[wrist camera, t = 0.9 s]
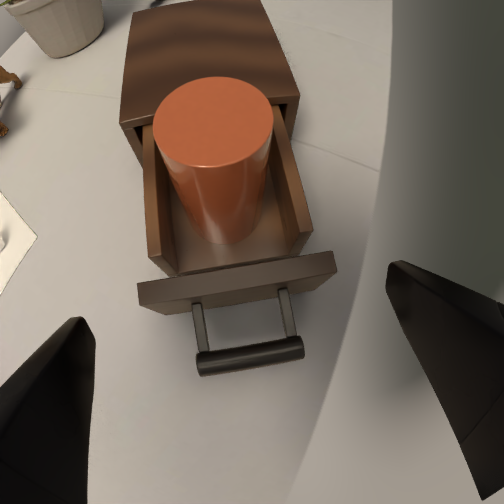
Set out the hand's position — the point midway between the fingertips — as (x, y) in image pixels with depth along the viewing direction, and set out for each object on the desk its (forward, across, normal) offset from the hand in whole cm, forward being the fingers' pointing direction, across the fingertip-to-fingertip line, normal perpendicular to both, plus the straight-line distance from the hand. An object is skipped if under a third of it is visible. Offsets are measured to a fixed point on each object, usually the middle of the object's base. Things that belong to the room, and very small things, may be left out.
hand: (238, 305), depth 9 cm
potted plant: (+38, +17, -17) cm, 45 cm away
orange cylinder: (+14, 0, +3) cm, 14 cm away
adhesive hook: (+18, +22, +3) cm, 29 cm away
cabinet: (+24, 0, -4) cm, 24 cm away
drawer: (+14, 0, +5) cm, 14 cm away
